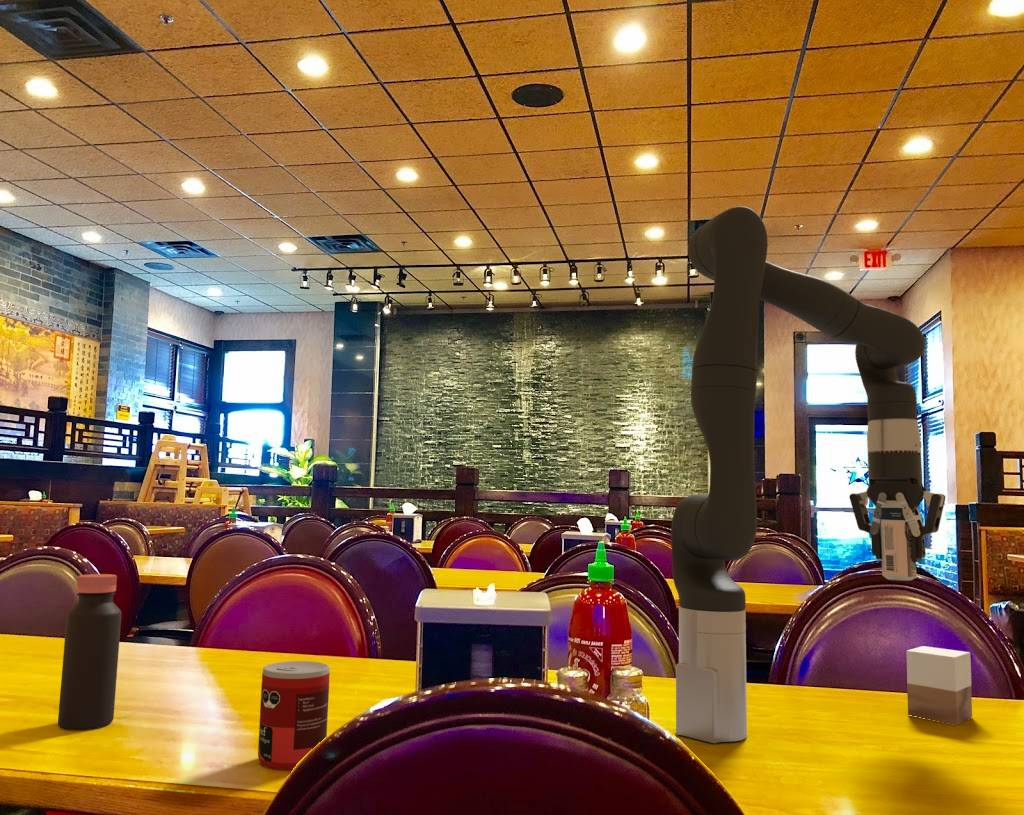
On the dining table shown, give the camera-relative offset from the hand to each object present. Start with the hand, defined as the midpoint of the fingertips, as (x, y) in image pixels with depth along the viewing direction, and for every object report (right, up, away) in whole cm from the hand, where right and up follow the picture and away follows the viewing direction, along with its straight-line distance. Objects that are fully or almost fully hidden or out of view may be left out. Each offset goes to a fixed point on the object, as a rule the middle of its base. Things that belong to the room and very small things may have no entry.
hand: (898, 560), depth 126 cm
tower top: (+7, -20, +2) cm, 21 cm away
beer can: (0, -3, 0) cm, 3 cm away
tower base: (+7, -25, +1) cm, 26 cm away
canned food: (-86, -19, -27) cm, 92 cm away
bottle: (-118, -20, -14) cm, 120 cm away
